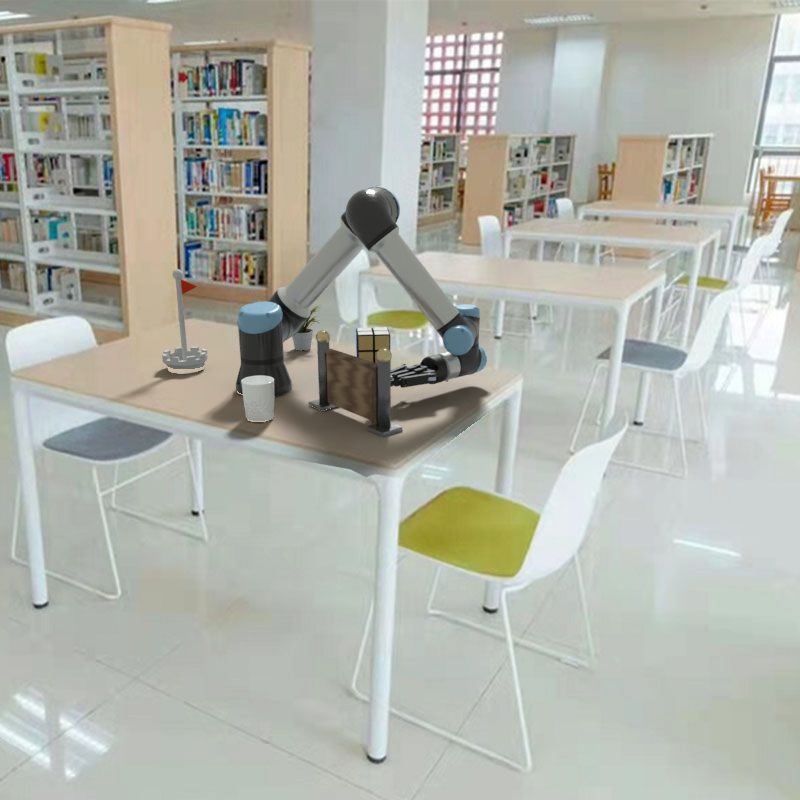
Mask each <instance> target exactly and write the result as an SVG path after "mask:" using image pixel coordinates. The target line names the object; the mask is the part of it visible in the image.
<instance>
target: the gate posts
mask: <svg viewBox="0 0 800 800" xmlns="http://www.w3.org/2000/svg"><path fill="white" fill-rule="evenodd" d="M315 340H316V343H317V346H316V347H317V369H318V370H317V372H318V373H317V374H318V397H319V398H318V399H315V400H311V401H308V406H309V405H311V406H313V407H312V408H314V407H315V409H316V408H318V409H320V410H319V411H321V410H326V409H329V410H331V409H330V408H333V409H336V408H335V407H337V406H335V405H332V404H330V403H328V392H327V360H326V354H325V350H327V349H330V340H331V334H330V333H329V331H327V330H324V329H322V330H318V332H317V333H316V335H315ZM392 354H393V353H392V352H391V350H390V351H389V350H388V349H386V348H382V349H380V350H379V351H378V352H377V354H376V358H377V362H378V425H374V424H372V423H371V424H370V425H366V431H368V432H370V433H373V434H375V435H378V436H379V437H382V438H384V437H387V436H390V435H393V434H394V435H395V434H397V433H400V432H402V431H403V426H401V425H398V424H395V423H393V422H392V421H391V420H392V417H391V415H392V413H391V412H392V411H391V410H392V409H391V408H392V407H391V405H392V401H391V399H392V397H391V396H392V395H391V390H392V389H391V370H392V369H391V368H392V366H391V363H392V362H391V361H392V358H393V357H392V356H393V355H392ZM311 406H310V407H311ZM337 408H338V407H337ZM318 409H317V410H318ZM326 411H327V410H326Z"/></svg>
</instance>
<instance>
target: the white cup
mask: <svg viewBox="0 0 800 800" xmlns="http://www.w3.org/2000/svg"><path fill="white" fill-rule="evenodd" d="M241 384H242V392H243V396H242V400H243V406H244V411H245V419H246V418H247V419H249V420H253V421H265V420H270V419H272V418H273V417H275V414H274V413H275V412H274V411H275V409H274V408H275V397H274V378H273V377H270V376H263V375H258V376H250V377H246V378H244V379H242V380H241ZM273 419H274V418H273ZM273 419H272V420H273Z"/></svg>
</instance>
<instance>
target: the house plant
mask: <svg viewBox="0 0 800 800" xmlns="http://www.w3.org/2000/svg"><path fill="white" fill-rule="evenodd" d="M321 306H322V304H320V305H317V306H315V307H313V308H312V309H310V311H311V315H310V316H309V318H308V319H307V320H306V321H305V322H304V323H303V324H302V327H301V328H300V330H299V331H298V332H297V333H296V334H295V335H294V336H292V337H291V338H292V342H293V346H294V350H295V349H296V350H295V351H297V350H300V351H299V352H303V351H302V350H308V351H310V350H311V349H312V343H313V342H312V341H313V332H314V330H313V329H311V328H310V327H311V326H312V325H313V324H314V323H318V324H319V325H321V324H320V322H319V321H320V320H318V319H316V318H318V315H316V316H314V317H311V316H312V315H313V314H314V313H316V312H318V311H320V310H318V309H321V308H322V307H321ZM312 322H313V323H312ZM309 349H310V350H309Z"/></svg>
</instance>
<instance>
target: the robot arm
mask: <svg viewBox="0 0 800 800" xmlns="http://www.w3.org/2000/svg"><path fill="white" fill-rule="evenodd" d="M400 213H401V205H400V203H399V200H398V198H397V196H396V195H395V194H394V193H393V192H392V191H391V190H389V189H388V188H385V187H382V186H378V185H377V186H371V187H369V188H365V189H361V190H358V191H357V192H355V193H354V194H352V195H351V197H350V198H349V199H348V201H347V204H346V207H345V211H344V212H343V213H342V215H340V225H339V227H338V228H337V229H336V230H335V231H334V232H333V234H332V235H331V236H330V237H329V238H328V240H327V241H326V242H325V243H324V244H323V245H322V246H321V248H319V250H317V252H316V253H315V254H314V255H313V256H312V258H310V260H309V261H308V262H307V263H306V265H305V266H304V267H303V268H302V269H301V270H300V272H299V273H298V274H297V275H296V277H294V278H293V280H291V282H290V283H289V284H288V285H287V286H283V287H282V286H281V287H278V289H277V290H276V291H275V292H274V293H273V294H272V296H271V297H270V298H269V299H268V300H267V301H254V302H252V303H247V304H245V305H243V306H242V307H240V309H238V312H237V322H236V324H237V330H238V331H237V332H238V343H239V355H240V357H239V358H240V366H239V370H238V374H237V377H236V382H235V391H236V390H237V391H238V392H239V393H241V394H243V392H242V384H241V380H242V379H244V378H246V377H250V376H258V375H263V376H270V377H273V378H274V396H275V397H280V396H284V395H286V394H289V393H290V392H291V391H292V389H293V387H292V386H293V385H292V378H291V377H290V374H289V371H288V369H287V366H286V364H285V355H284V353H285V352H284V343H285V342H286V341H287V340H289V339H290V338H292V336H294V335H295V334H296V333H297V332H298V331H299V330H300V328H301V327H302V324H303V323H304V322H305V321H306V320H307V319H308V318H309V316H310V315H311V307H312V306H313V305H314V304H315V303H316V302H317V301H318V300H319V298H320V297H321V296H322V295H324V293H325V292H326V290H328V288H330V286H331V285H332V284H333V283H334V282H335V280H337V279H338V277H339V276H340V275H341V274H342V273H343V271H345V270H346V269H347V267H349V265H350V264H351V263H352V261H353V260H355V258H356V257H357V256H358V255H359V253H361V251H362V250H364V248H365V249H366V250H367V251H368V252H369V253H375V254H376V256H377V257H378V259H380V261H381V262H382V263H383V264H384V267H386V268H387V270H388V271H389V272H390V274H391V275H392V276H393V277H394V278H395V280H396V281H397V282H398V284H399V285H400V287H402V289H403V290H404V291H405V292H406V294H407V295H408V296H409V298H410V299H411V301H413V303H414V304H415V305H416V306H417V308H418V309H419V310H420V312H421V313H422V314H423V315H424V317H425V319H427V320H428V322H429V323H430V325H431V326H432V327H433V328H434V330H435V331H436V332H437V334H438V335H439V336H440V338H441V339H442V343H443V346H444V349H445V350H446V351H445V352H441V353H437V354H434V355H433V354H432V355H429V356H425V357H423V359H422V360H421V362H420V363H415V364H414V365H412V366H408V365H407V364H406V363H402V364H401V365H400V366H397V367H395V368H392V369H391V387H396V388H397V387H400V388H401V389H403V388H410V387H414V386H415V387H416V386H423V385H428V384H429V385H436V384H439V383H442V382H445V383H446V382H449V381H450V380H453V379H457V378H460V377H466V376H470V375H474V374H476V373H478V372H481V371H483V370H484V369H485V367H486V366H487V362H488V357H487V355H486V351H485V349H483V347H481V346H480V344H479V341H480V340H479V338H480V323H481V322H480V319H481V316H480V314H481V313H480V308H479V306H477V305H475V304H469V303H466V304H465V303H463V304H456V305H455V304H454V303H453V302H452V301H451V299H450V298H449V297H448V295H447V294H446V293H445V292H444V291H443V289H442V287H440V285H439V284H438V283H437V281H436V280H435V278H434V277H433V276H432V275H431V274H430V272H429V271H428V270H427V268H426V267H425V266H424V265H423V263H422V262H421V261H420V260H419V258H418V257H417V255H416V254H415V253H414V252H413V250H412V249H411V248H410V247H409V245H408V244H407V242H406V241H405V240H404V239H403V238H402V236H401V235H400V233H399V232H400V227H399V226H398V225H397V222H398V220H399V218H400ZM311 316H312V315H311ZM311 316H310V317H311ZM275 397H274V398H275Z"/></svg>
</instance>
